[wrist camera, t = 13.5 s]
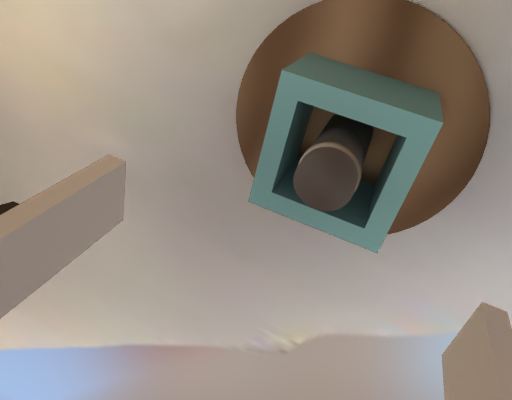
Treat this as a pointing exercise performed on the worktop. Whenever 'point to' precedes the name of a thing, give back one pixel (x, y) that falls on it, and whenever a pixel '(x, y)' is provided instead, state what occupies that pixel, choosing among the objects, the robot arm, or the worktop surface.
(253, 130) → the post stand
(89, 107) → the worktop surface
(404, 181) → the collar
